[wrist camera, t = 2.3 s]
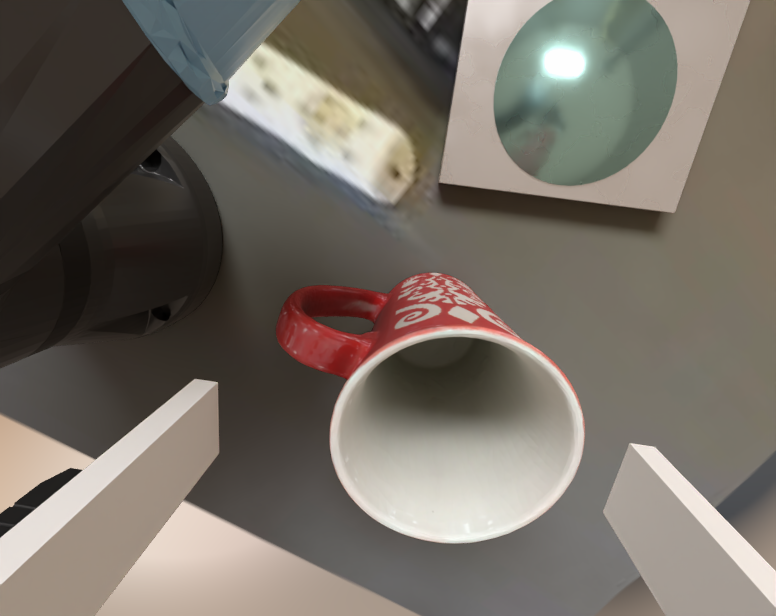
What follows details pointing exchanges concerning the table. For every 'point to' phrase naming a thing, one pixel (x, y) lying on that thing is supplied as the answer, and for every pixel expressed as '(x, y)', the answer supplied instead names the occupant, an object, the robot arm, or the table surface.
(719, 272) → the table surface
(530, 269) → the table surface
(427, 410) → the mug
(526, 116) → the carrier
